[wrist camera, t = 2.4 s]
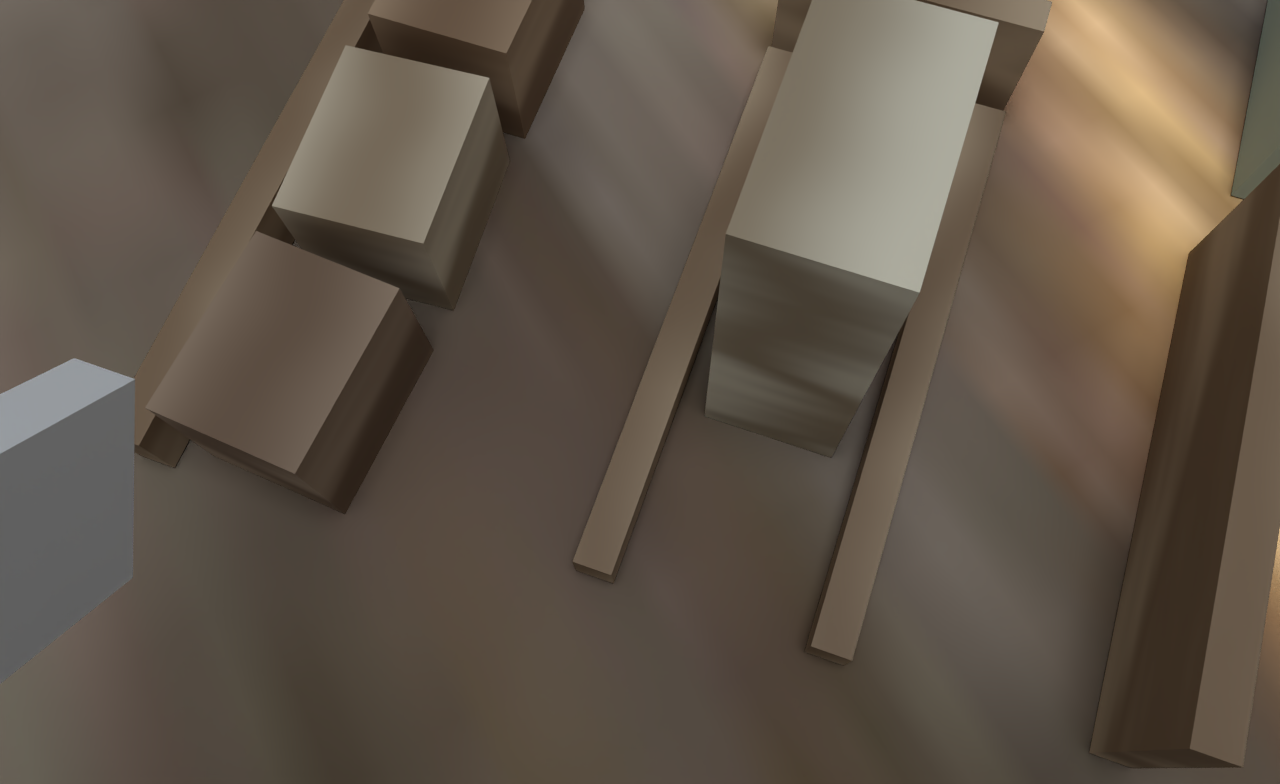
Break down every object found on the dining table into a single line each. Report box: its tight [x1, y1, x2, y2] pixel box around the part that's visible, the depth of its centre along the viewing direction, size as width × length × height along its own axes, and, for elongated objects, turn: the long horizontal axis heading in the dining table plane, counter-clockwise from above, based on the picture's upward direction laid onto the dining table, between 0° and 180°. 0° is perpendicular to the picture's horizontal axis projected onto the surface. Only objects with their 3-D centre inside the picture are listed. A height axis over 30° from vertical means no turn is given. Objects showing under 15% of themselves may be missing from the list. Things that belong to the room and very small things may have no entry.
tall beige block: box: [704, 0, 999, 458], centre depth 24 cm, size 4×6×10 cm, turn 161°
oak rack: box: [134, 0, 1280, 768], centre depth 26 cm, size 26×18×5 cm
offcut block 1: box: [368, 0, 584, 139], centre depth 30 cm, size 4×5×4 cm
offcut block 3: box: [145, 231, 433, 514], centre depth 26 cm, size 4×5×4 cm
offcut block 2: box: [272, 45, 510, 311], centre depth 28 cm, size 4×5×4 cm
